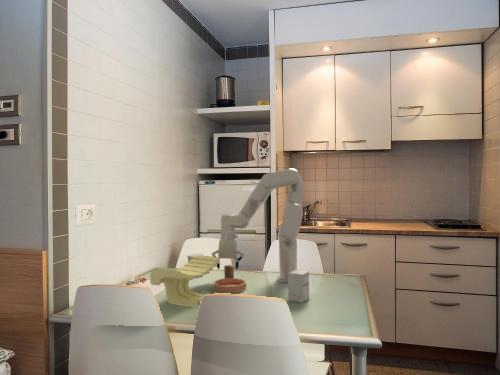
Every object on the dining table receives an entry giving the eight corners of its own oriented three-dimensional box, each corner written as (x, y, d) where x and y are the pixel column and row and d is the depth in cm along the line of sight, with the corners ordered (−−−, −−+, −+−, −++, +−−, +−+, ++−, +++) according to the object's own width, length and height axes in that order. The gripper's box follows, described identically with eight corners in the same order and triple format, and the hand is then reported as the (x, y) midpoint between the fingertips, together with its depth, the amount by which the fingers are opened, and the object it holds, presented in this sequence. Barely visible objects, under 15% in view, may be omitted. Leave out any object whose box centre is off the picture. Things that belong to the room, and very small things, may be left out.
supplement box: (303, 303, 177) (302, 274, 177) (288, 300, 181) (287, 272, 181) (309, 298, 184) (309, 271, 183) (295, 296, 188) (294, 269, 187)
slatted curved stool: (193, 290, 201) (193, 254, 200) (220, 294, 193) (219, 257, 192) (151, 307, 175) (150, 267, 174) (179, 313, 167) (178, 270, 166)
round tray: (246, 284, 209) (246, 278, 208) (245, 293, 193) (245, 286, 193) (216, 284, 209) (216, 278, 209) (212, 294, 193) (211, 286, 193)
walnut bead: (234, 279, 219) (233, 265, 219) (233, 282, 214) (233, 267, 214) (225, 279, 220) (224, 265, 219) (224, 282, 215) (223, 267, 214)
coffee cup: (201, 278, 223) (200, 256, 223) (185, 277, 225) (184, 256, 225) (206, 274, 233) (206, 253, 232) (191, 273, 234) (190, 253, 234)
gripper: (244, 236, 220) (244, 267, 220) (212, 235, 220) (212, 266, 221) (243, 238, 212) (243, 270, 213) (211, 238, 213) (210, 270, 213)
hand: (227, 268), depth 217 cm, fingers open, 9 cm apart
